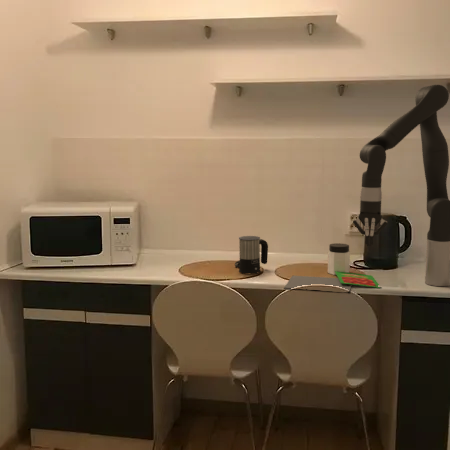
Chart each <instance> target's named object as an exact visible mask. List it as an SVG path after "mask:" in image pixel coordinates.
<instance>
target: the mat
mask: <svg viewBox="0 0 450 450" xmlns="http://www.w3.org/2000/svg"><path fill="white" fill-rule="evenodd" d="M311 284H325V285H333V286H339V287H342V288H345V289H348V290H350V291H351V288H352V285H351V284H343V283H341V282H340V280H339V278H338V277H325V276H324V277H323V276H309V275H304V276H303V275H292V276H290V279H288V281H287V283H286V284H285V286H284V287H283V289H284V290H291V288H294V287H297V286H302V285H311Z"/></svg>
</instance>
